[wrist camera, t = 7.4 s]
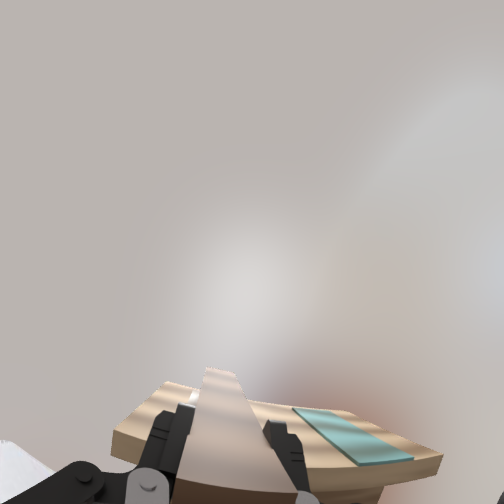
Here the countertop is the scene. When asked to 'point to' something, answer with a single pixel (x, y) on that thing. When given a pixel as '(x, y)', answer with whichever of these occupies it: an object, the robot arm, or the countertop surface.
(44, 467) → the countertop surface
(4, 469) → the countertop surface
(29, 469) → the countertop surface
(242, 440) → the walnut bar
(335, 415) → the oak lectern
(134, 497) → the robot arm
